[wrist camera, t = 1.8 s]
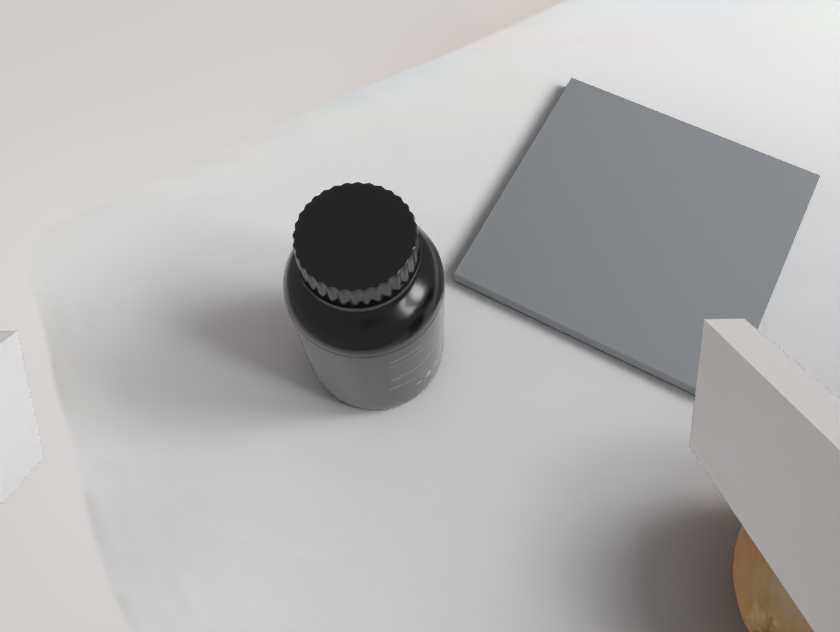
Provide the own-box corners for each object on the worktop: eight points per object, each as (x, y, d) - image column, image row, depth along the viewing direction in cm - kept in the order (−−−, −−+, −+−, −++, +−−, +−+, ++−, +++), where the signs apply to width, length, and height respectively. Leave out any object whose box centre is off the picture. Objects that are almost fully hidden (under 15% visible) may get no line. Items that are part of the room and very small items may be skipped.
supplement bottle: (284, 363, 39) (224, 247, 28) (368, 269, 42) (341, 128, 31) (388, 441, 37) (367, 349, 27) (470, 339, 40) (481, 215, 29)
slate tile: (813, 184, 43) (820, 175, 42) (721, 408, 38) (727, 403, 37) (569, 86, 46) (571, 77, 46) (453, 280, 41) (453, 273, 40)
